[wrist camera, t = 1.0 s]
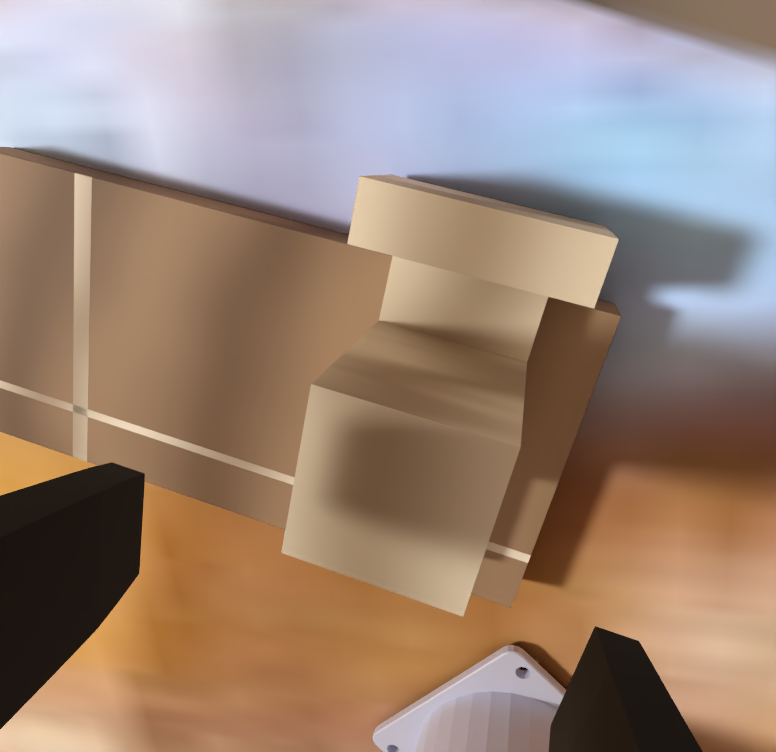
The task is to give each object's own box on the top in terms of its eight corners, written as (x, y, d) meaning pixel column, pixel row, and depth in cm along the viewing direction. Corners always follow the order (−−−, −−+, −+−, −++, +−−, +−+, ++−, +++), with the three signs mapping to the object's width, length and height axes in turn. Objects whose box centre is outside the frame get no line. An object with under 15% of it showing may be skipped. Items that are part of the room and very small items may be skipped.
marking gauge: (604, 225, 16) (651, 270, 9) (495, 541, 20) (471, 738, 13) (391, 174, 17) (288, 179, 10) (328, 486, 21) (223, 643, 14)
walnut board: (614, 304, 17) (621, 316, 15) (513, 578, 20) (510, 608, 19) (10, 147, 20) (-30, 145, 18) (19, 411, 23) (-14, 427, 22)
